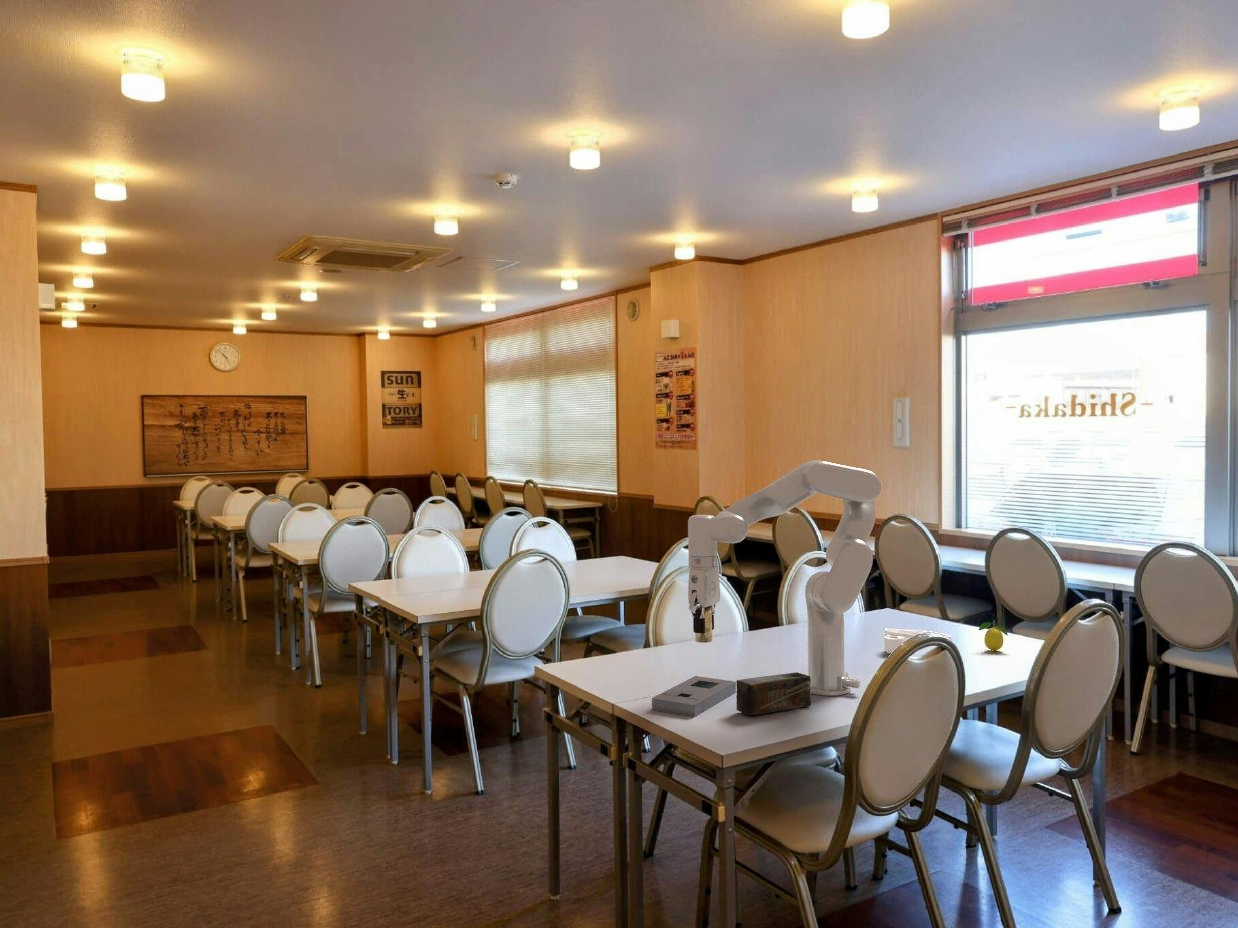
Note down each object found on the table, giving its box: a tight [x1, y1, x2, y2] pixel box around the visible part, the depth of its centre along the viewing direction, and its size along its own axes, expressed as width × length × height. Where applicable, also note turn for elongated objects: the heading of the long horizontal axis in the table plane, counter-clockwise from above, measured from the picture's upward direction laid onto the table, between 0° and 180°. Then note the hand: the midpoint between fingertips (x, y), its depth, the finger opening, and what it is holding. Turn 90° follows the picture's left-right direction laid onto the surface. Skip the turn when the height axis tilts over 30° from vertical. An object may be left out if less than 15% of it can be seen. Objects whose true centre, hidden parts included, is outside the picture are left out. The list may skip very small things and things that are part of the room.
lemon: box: [978, 621, 1009, 653], centre depth 283 cm, size 7×6×10 cm
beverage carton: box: [736, 672, 812, 716], centre depth 227 cm, size 8×19×7 cm
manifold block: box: [651, 675, 737, 718], centre depth 236 cm, size 12×24×3 cm, turn 148°
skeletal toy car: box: [883, 627, 952, 655], centre depth 279 cm, size 20×11×7 cm, turn 44°
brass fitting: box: [694, 604, 713, 644], centre depth 241 cm, size 4×4×9 cm
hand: (703, 630), depth 241 cm, fingers closed on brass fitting, 4 cm apart
